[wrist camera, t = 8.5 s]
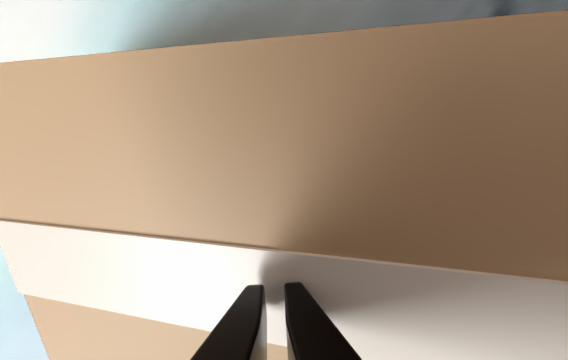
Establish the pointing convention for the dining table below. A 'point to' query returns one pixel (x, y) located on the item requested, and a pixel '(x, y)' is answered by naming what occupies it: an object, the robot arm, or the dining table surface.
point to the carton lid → (296, 190)
